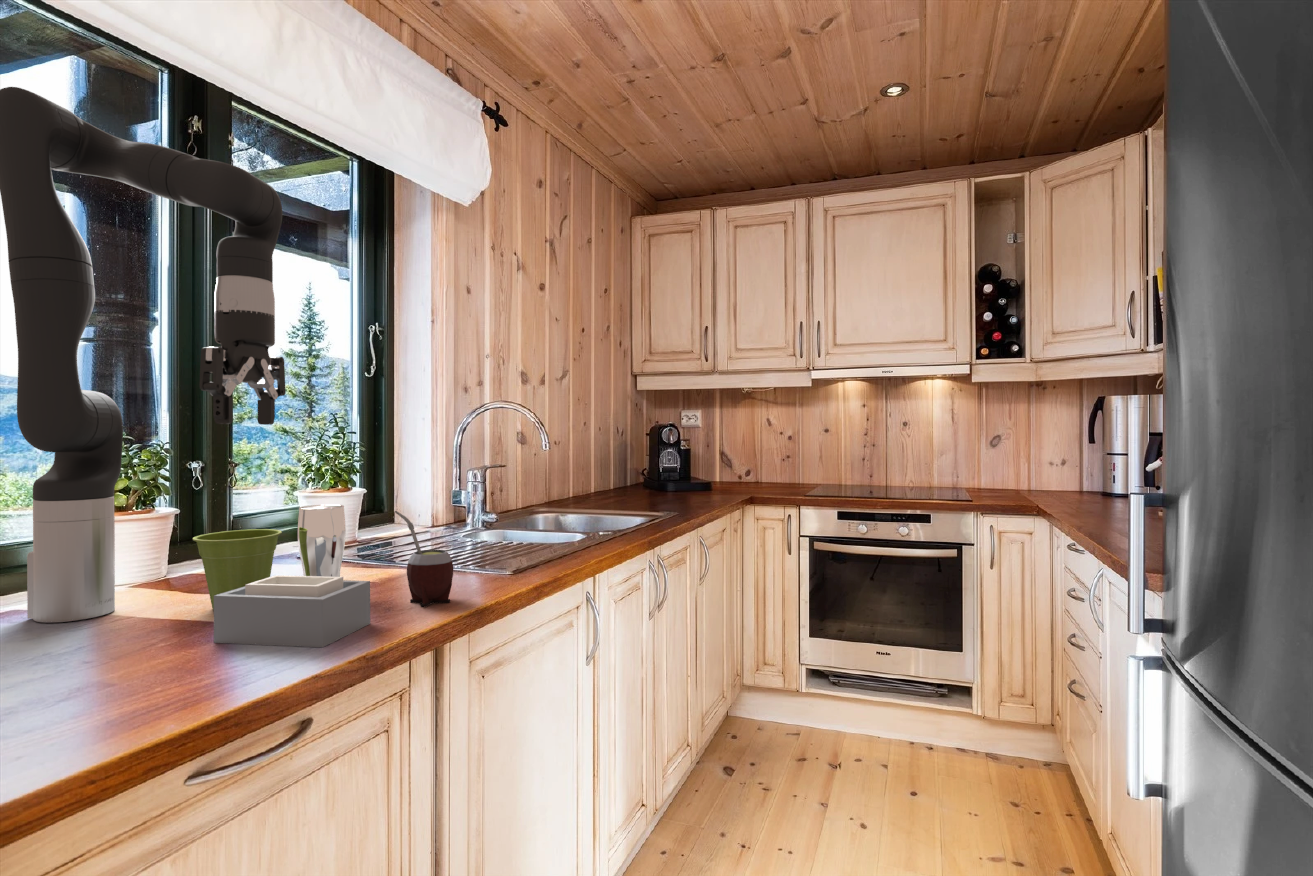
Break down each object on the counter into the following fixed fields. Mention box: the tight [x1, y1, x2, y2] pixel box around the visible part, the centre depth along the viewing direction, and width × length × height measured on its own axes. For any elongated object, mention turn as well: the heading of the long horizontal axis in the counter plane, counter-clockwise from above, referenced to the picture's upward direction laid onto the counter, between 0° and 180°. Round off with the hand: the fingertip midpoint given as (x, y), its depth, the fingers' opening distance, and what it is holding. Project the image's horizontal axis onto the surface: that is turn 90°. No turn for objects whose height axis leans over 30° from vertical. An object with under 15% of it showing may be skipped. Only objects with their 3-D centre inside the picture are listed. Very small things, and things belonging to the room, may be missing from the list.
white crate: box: [245, 574, 344, 597], centre depth 93 cm, size 6×10×6 cm, turn 84°
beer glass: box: [297, 504, 347, 577], centre depth 112 cm, size 7×7×15 cm
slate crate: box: [213, 579, 371, 648], centre depth 94 cm, size 11×15×6 cm
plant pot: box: [192, 528, 283, 611], centre depth 108 cm, size 12×12×11 cm
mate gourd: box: [394, 510, 454, 608], centre depth 110 cm, size 8×8×15 cm
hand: (245, 424), depth 101 cm, fingers open, 8 cm apart
